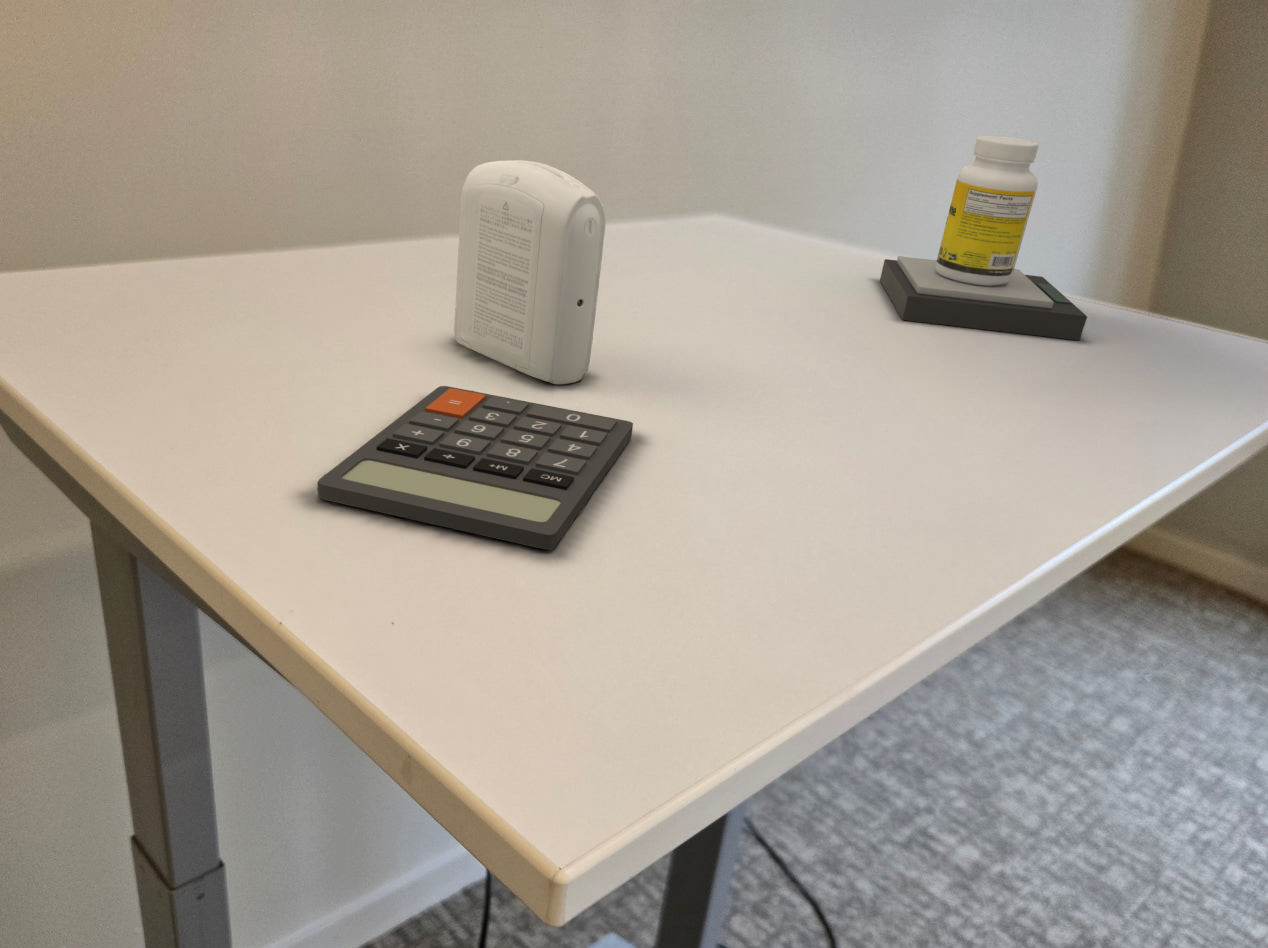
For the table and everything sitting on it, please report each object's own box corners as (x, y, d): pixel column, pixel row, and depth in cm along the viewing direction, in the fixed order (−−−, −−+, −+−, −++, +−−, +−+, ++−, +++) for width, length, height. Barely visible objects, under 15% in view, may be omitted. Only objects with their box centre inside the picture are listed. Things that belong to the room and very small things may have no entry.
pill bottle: (945, 264, 95) (980, 131, 89) (1017, 279, 92) (1057, 143, 86) (923, 275, 90) (958, 136, 85) (998, 291, 87) (1039, 148, 82)
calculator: (635, 419, 60) (553, 532, 47) (633, 434, 60) (552, 551, 47) (441, 381, 62) (314, 479, 50) (440, 396, 63) (314, 497, 50)
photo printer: (599, 378, 69) (621, 176, 63) (552, 391, 66) (570, 181, 60) (491, 334, 75) (502, 147, 69) (444, 344, 72) (451, 150, 66)
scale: (1036, 298, 97) (1044, 269, 96) (1079, 340, 86) (1090, 308, 85) (879, 280, 98) (886, 252, 97) (902, 320, 87) (909, 288, 86)
